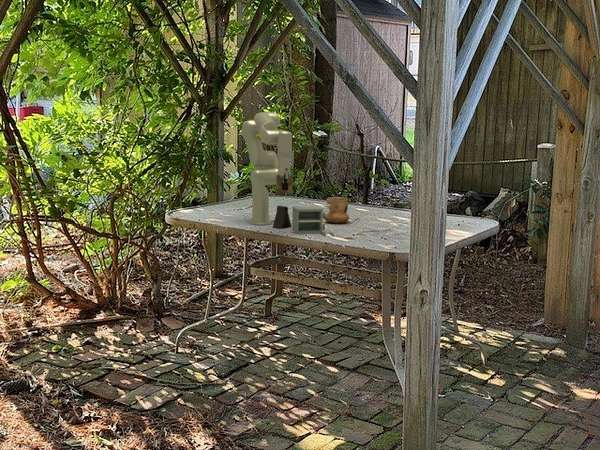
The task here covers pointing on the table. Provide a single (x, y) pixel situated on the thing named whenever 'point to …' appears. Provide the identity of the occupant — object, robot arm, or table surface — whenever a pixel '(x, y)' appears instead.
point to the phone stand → (282, 218)
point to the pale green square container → (308, 220)
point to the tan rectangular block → (279, 185)
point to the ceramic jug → (337, 210)
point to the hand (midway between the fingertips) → (284, 189)
